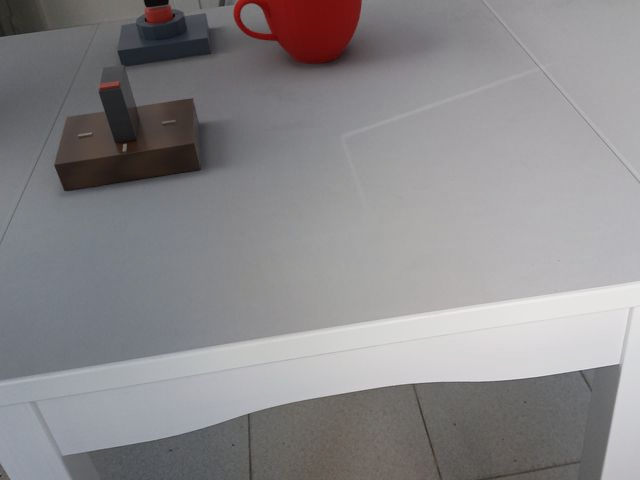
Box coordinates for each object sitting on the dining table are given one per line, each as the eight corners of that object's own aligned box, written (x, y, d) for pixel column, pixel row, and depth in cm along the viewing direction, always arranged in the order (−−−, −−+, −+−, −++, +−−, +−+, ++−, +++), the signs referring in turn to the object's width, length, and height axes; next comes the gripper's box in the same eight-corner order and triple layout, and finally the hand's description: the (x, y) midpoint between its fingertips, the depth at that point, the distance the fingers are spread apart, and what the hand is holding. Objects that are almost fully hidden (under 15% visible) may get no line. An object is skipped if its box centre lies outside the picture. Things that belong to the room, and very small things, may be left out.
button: (146, 27, 97) (143, 13, 96) (147, 18, 100) (144, 4, 99) (173, 23, 98) (170, 9, 96) (173, 14, 100) (170, 0, 99)
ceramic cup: (225, 60, 96) (209, -22, 89) (336, 27, 101) (329, -52, 94) (266, 92, 87) (252, 5, 81) (385, 55, 93) (381, -30, 86)
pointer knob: (118, 118, 78) (102, 65, 75) (138, 115, 79) (123, 62, 75) (115, 143, 74) (97, 89, 70) (136, 140, 74) (120, 85, 70)
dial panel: (64, 191, 74) (53, 163, 72) (75, 141, 82) (65, 115, 80) (200, 169, 75) (193, 141, 73) (198, 123, 83) (192, 96, 81)
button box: (121, 67, 97) (112, 36, 94) (126, 40, 104) (117, 11, 102) (211, 54, 98) (204, 23, 95) (208, 28, 105) (203, -1, 102)
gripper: (89, -166, 90) (132, -9, 103) (77, -146, 79) (126, 27, 92) (150, -174, 90) (185, -17, 103) (146, -155, 80) (185, 18, 92)
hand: (157, 3), depth 97 cm, fingers closed
